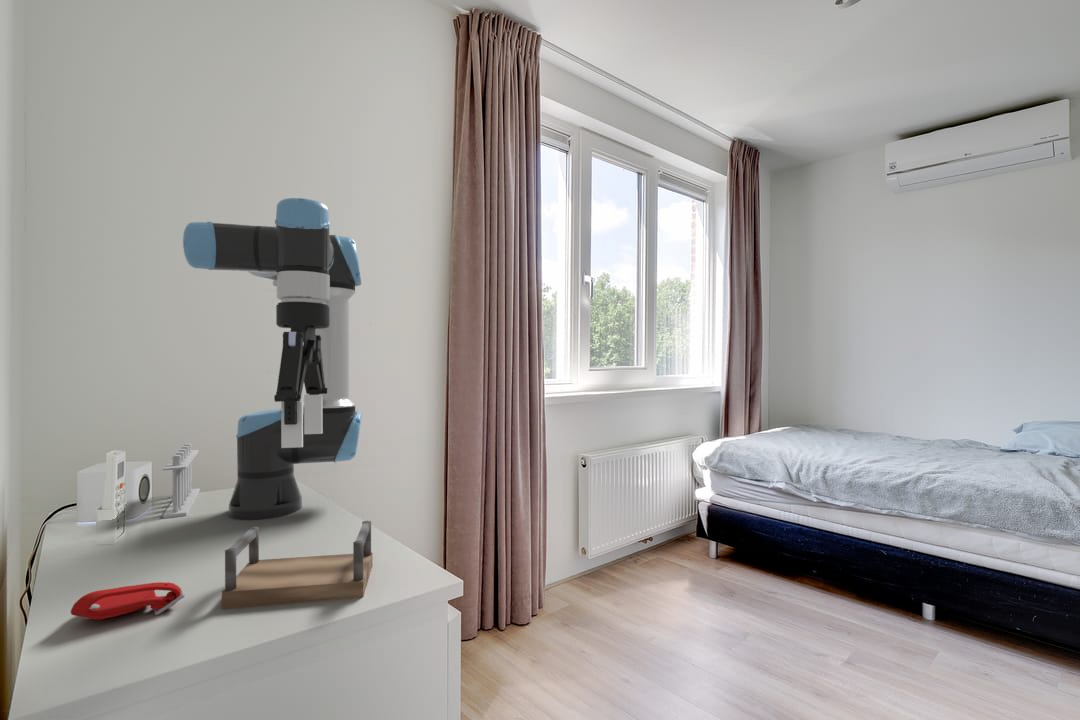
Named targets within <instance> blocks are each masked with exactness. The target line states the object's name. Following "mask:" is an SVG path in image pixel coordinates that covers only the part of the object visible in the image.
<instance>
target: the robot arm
mask: <svg viewBox="0 0 1080 720" xmlns="http://www.w3.org/2000/svg"><path fill="white" fill-rule="evenodd" d="M275 215H276V217H275V219H274V225H275V226H267V225H264V226H263V225H247V224H234V223H221V222H212V221H206V222H202V221H201V222H200V221H197V222H196V221H192V222H189V223H188V224H186V226H185V228H184V231H183V236H182V240H183V241H182V247H183V253H184V257H185V259H186V262H187V264H188V265H189V266H190V267H192V268H194V269H200V270H201V269H202V270H209V271H215V270H216V271H233V272H234V271H240V272H248V273H249V274H251V275H253V276H255V277H259V278H263V279H264V278H265V279H269V280H273V281H272V285H273V286H274V287H276V298H277V300H280V301H281V302H278V303H277V304H276V307H275V309H276V311H275V313H276V317H275V319H276V322H275V323H276V326H277V327H278V328H282V329H290V331H283V333H282V349H281V355H280V358H281V359H280V366H279V371H278V379H277V388H276V391H275V394H274V402H276V403H277V402H279V403H281V404H280V405H281V408H274V409H268V410H267V409H266V410H261V411H256V412H252V413H247V414H244V415H242V416H241V417H240V418H239V419H238V422H237V430H236V431H237V434H236V440H237V441H236V442H237V443H236V447H237V448H236V451H237V457H236V458H237V461H236V464H237V468H236V469H237V480H236V484H235V486H234V489H233V491H232V494H231V498H230V500H229V504H228V516H229V517H230V518H232V519H235V520H243V521H244V520H247V521H249V520H251V521H253V520H254V521H255V520H266V519H272V518H278V517H279V518H280V517H283V516H286V515H291V514H293V513H296V512H297V511H300V510H301V509H302V507H303V496H302V493H301V490H300V488H299V486H298V483H297V480H296V478H295V474H294V471H295V470H294V469H295V467H294V466H295V464H298V465H299V464H300V465H301V464H315V463H318V464H319V463H331V462H333V463H338V462H347V461H351V460H353V459H354V458H355V456H356V455H357V453H358V452H357V450H358V443H359V442H358V441H359V435H360V430H361V421H362V415H363V414H362V412H360V411H356V404H355V403H354V401H352V399H350V395H349V393H350V384H349V383H350V381H349V380H350V379H349V378H350V376H349V374H350V373H349V371H350V369H349V367H350V366H349V361H350V360H349V359H350V358H349V357H350V356H349V355H350V354H349V350H350V349H349V347H350V346H349V345H350V344H349V341H350V339H349V337H350V336H349V335H350V334H349V333H350V332H349V330H350V329H349V326H350V325H349V323H350V322H349V318H350V317H349V315H350V313H349V312H350V311H349V302H350V301H349V300H350V298H351V297H352V296H354V295H355V294H356V287H359V286H361V285H362V278H361V271H360V263H359V257H358V250H357V249H358V248H357V244H356V241H355V240H354V239H353V238H352V237H349V236H344V235H343V236H341V235H337V234H330V227H331V222H330V212H329V208H328V207H327V205H326V204H324V203H322V202H320V201H317V200H315V199H314V200H313V199H309V198H304V197H303V198H300V197H289V198H283V199H282V200H279V202H277V204H276V213H275ZM303 388H305V393H306V394H304V396H303V400H302V394H303Z"/></svg>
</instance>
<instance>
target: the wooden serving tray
mask: <svg viewBox="0 0 1080 720" xmlns="http://www.w3.org/2000/svg"><path fill="white" fill-rule="evenodd" d="M361 524H362V525H361V527H360V530H359V532H358V534H357V536H356V539H355V541H353V542H352V543H353V546H352V549H353V553H344V554H342V553H341V554H331V555H330V554H329V555H313V556H301V557H299V556H298V557H283V558H270V559H267V558H266V559H260V555H259V554H260V551H259V550H260V549H259V548H260V547H259V545H260V544H259V543H260V541H259V540H260V539H259V538H260V537H259V536H260V535H259V534H260V530H259V526H253V527H249V528H248V530H247V531H246V532H245V533H243V534H242V535H241V536H240V538H238V539H237V540H236V541H235V542H234V543H233V544H232V545H231V546H230V547H228V549H226V550H224V589H223V591H221V610H231V609H243V608H255V607H266V606H276V605H277V606H278V605H290V604H299V603H300V604H301V603H311V602H320V601H321V602H322V601H333V600H334V601H335V600H336V601H337V600H345V599H356V598H357V599H358V598H364V597H365V592H366V589H367V586H368V583H369V579H370V576H371V573H370V572H372V570H373V552H372V521H371V520H364V521H362V523H361ZM247 546H248V562H247V564H246V565H245V566H244V567H243V568H242V569H241V570H240V572H238V574H237V557H238V555H240V553H241V552H242V551H243V550H244V549H245V548H246V547H247Z"/></svg>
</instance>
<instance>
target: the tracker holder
mask: <svg viewBox="0 0 1080 720" xmlns="http://www.w3.org/2000/svg"><path fill="white" fill-rule="evenodd" d="M156 591H167V593H166V595H162V596H160V595H159V596H158V595H156ZM185 595H186V594H185V593H184V590H183V587H180V586H179V585H178V584H175V583H173V582H162V581H161V582H160V581H159V582H149V583H142V584H141V583H140V584H135V585H127V586H120V587H115V588H106V589H100V590H95V591H91V592H89V593H86V594H84V595H83V596H81V597H80V598H78V600H77V601H76V602H75V603H73V605H72V607H71V608H70V614H71V615H72V616H75V617H80V618H82V619H85V620H99V621H100V620H103V619H109V618H113V617H117V616H121V615H125V614H128V613H132V612H135V611H138V610H142V609H143V608H145V607H148V606H150V609H152V610H154V615H155V616H158V615H160V614H161V613H163V612H164V611H166V610H167V609H169V608H170V607H173V606H174V605H175V604H177V603H178V602H179V601H180V600H182V599H184V598H185Z"/></svg>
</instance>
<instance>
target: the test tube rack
mask: <svg viewBox="0 0 1080 720" xmlns="http://www.w3.org/2000/svg"><path fill="white" fill-rule="evenodd" d="M199 452H200V449H192V443H184V444H183V446H181V448H179V449H178V451H176V452H175V454H174V455H172V457H171V459H170V461H169V462H168V463H167V464H166V465H165V466H164V467H163V468H162V470H163V471H170V470H171V471H172V501H171V503H170V504H169V505H168V507H167V508H166V510H165V511H164V513H163V514H162V519H172V518H180V517H187V516H188V514H189V512H190V510H191V508H192V506H193V504H194V502H196V498H197V497H198V495H197V494H199V493H200V488H199V487H198V488H192V484H193V483H192V481H193V480H192V475H193V474H192V469H193V468H192V467H193V466H192V465H193V464H192V462H193V460H194V459H195V458H196V456H197V455H198V453H199Z"/></svg>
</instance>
